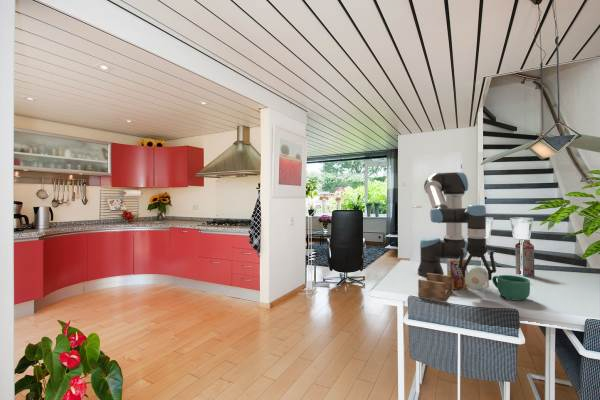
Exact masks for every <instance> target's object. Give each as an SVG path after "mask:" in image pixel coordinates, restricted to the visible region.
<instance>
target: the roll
mask: <svg viewBox="0 0 600 400" xmlns="http://www.w3.org/2000/svg"><path fill="white" fill-rule="evenodd" d="M487 272H488V271H487V269H486V268H485V267H482V266H473V267H471V268H470V270H469V271H468V274H467V275H466V278H465V281H466V283H467V287H469V288H470V289H473V290H481V289H483V288H484V287H486V286H485V285H486V273H487Z"/></svg>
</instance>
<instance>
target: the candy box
mask: <svg viewBox="0 0 600 400" xmlns="http://www.w3.org/2000/svg"><path fill="white" fill-rule="evenodd" d="M459 261H460V259H446V272H447V273H446V275H447V276H452V290H467V289H468V287H469V286H468V285H467V284H465V277H463V270H462V269H460V268H458V266H459ZM466 261H467V259H465V258H464V259H463V263H462V266H463V267H464V265H465V263H466ZM467 268H468V267H467ZM467 268H466V270H468V269H467Z"/></svg>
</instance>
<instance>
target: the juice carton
mask: <svg viewBox="0 0 600 400" xmlns="http://www.w3.org/2000/svg"><path fill="white" fill-rule="evenodd" d="M520 240H521V239H519V240H518V243H516V244H515V245H514V246H515V275H518V274H519V276H521V275H520V274H521V271H520ZM523 240H524V242H523V276H522V277H535V245H533V244H532V242H531V240H530V239H523Z"/></svg>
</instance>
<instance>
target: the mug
mask: <svg viewBox="0 0 600 400" xmlns="http://www.w3.org/2000/svg"><path fill="white" fill-rule="evenodd" d="M491 281H492V283H493V285H494V287H495V288H496V289H497V291H498V293H499V294H500V295H501V296H502V297H504V298H506V299H508V300H512V301H523V300H526V299H527V298H528V297H530V294H531V281H530V279H529V278H526V277H524V276H520V275H519V276H518V275H506V274H503V275H502V274H500V275H493V276H492V279H491Z"/></svg>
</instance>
